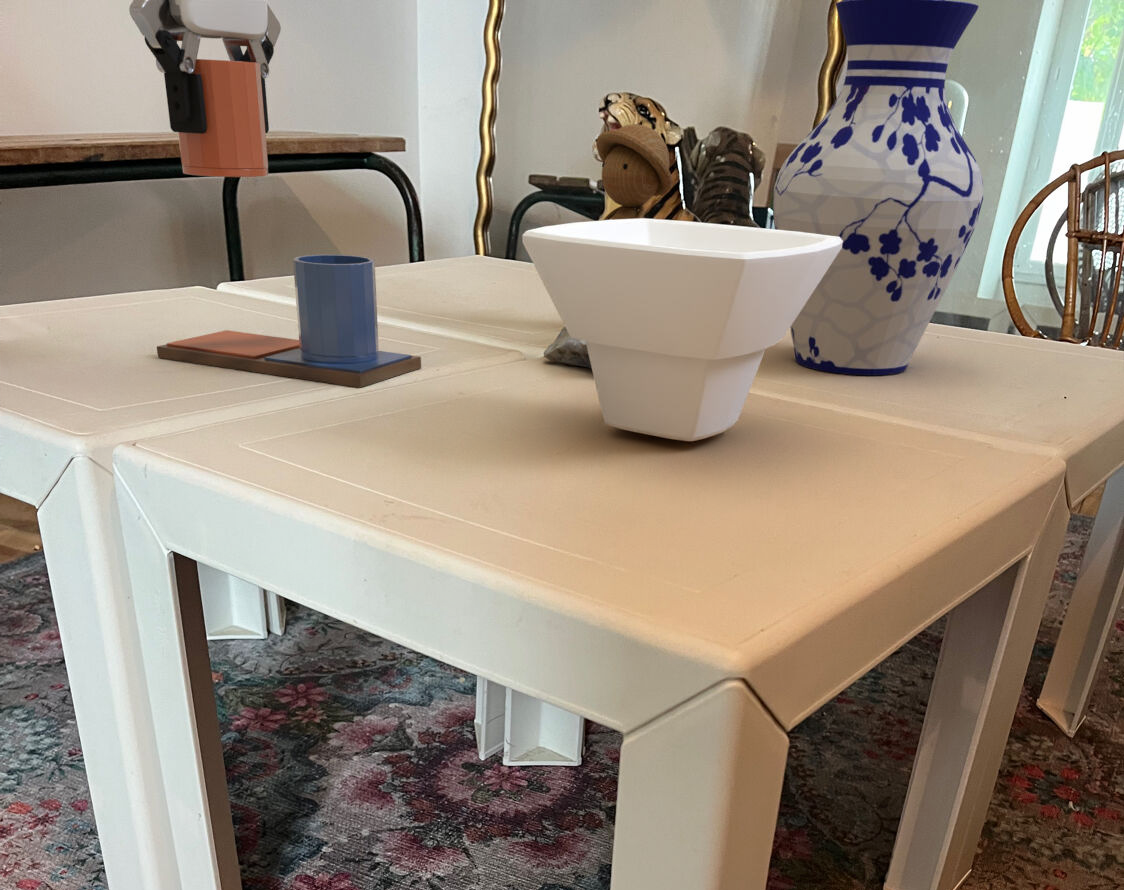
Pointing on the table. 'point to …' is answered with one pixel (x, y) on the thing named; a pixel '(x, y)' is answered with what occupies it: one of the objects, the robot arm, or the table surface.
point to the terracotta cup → (228, 123)
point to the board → (282, 358)
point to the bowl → (676, 311)
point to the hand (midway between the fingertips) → (221, 130)
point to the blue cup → (336, 308)
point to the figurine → (633, 168)
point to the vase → (883, 189)
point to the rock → (568, 350)
